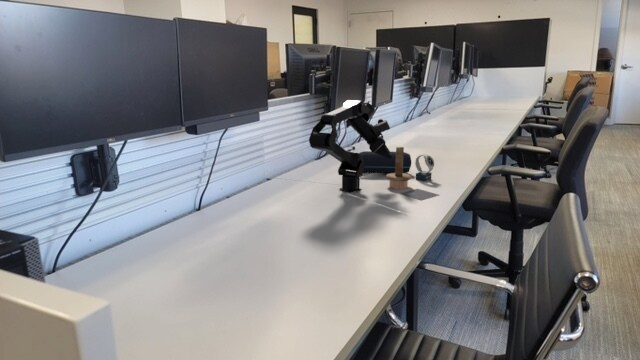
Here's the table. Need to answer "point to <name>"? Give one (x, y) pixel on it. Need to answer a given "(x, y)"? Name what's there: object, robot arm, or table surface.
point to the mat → (419, 194)
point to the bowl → (398, 184)
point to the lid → (399, 167)
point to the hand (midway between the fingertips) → (390, 155)
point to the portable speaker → (383, 162)
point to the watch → (423, 174)
